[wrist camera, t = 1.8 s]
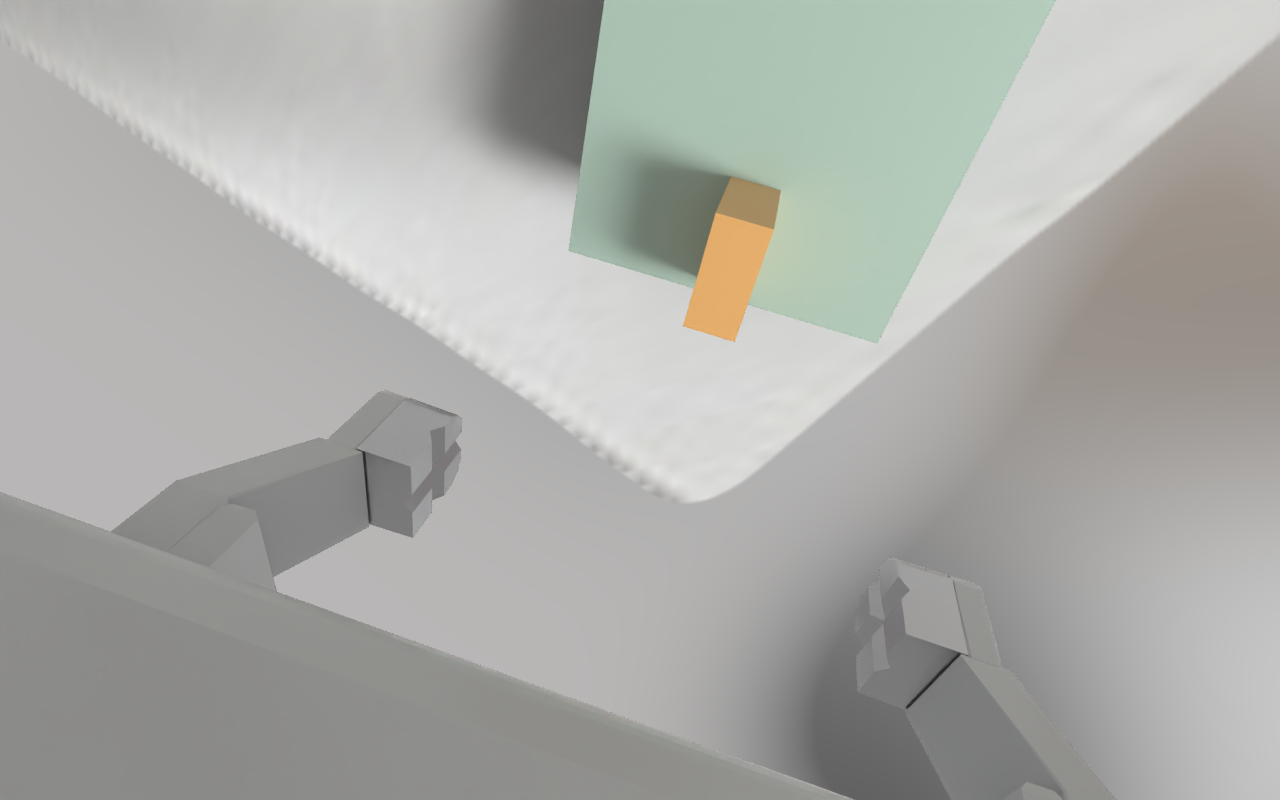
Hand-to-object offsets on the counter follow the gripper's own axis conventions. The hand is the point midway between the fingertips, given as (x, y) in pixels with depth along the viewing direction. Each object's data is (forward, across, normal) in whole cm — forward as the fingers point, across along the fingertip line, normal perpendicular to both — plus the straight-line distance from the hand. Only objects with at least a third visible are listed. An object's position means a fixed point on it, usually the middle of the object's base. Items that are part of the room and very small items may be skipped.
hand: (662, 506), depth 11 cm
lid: (+16, 0, -5) cm, 17 cm away
